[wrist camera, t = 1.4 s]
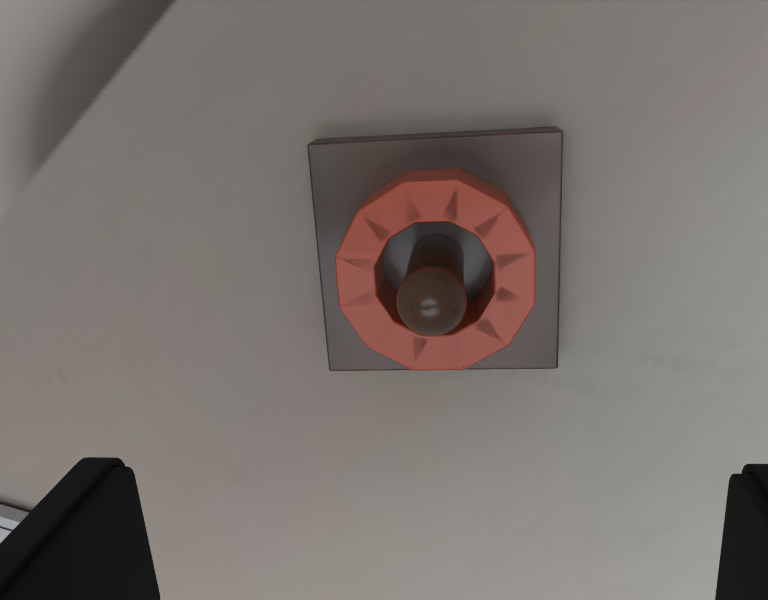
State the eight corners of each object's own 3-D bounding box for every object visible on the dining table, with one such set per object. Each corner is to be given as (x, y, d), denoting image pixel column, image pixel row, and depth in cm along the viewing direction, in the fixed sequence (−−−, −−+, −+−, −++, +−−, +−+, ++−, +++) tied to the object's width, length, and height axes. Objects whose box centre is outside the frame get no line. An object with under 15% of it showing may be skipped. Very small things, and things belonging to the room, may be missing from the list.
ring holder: (335, 356, 29) (297, 444, 23) (315, 139, 26) (264, 167, 20) (553, 353, 28) (580, 445, 22) (557, 126, 25) (591, 152, 19)
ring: (353, 345, 27) (343, 372, 25) (339, 173, 25) (327, 184, 23) (529, 343, 27) (535, 370, 24) (530, 164, 24) (537, 175, 22)
